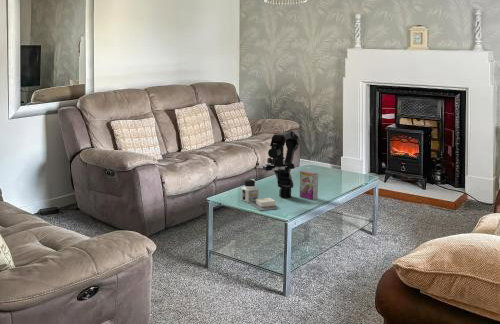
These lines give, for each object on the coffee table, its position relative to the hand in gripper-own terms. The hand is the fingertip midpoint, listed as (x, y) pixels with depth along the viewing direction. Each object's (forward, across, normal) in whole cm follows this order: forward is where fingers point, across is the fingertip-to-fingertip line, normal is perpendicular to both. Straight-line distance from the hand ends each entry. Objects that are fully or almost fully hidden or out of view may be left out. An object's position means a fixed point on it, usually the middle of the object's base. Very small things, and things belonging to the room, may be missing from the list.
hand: (278, 180), depth 356 cm
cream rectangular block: (+11, +6, +6) cm, 14 cm away
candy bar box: (+13, -21, -1) cm, 25 cm away
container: (+13, +15, -9) cm, 22 cm away
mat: (+13, +13, +6) cm, 19 cm away
